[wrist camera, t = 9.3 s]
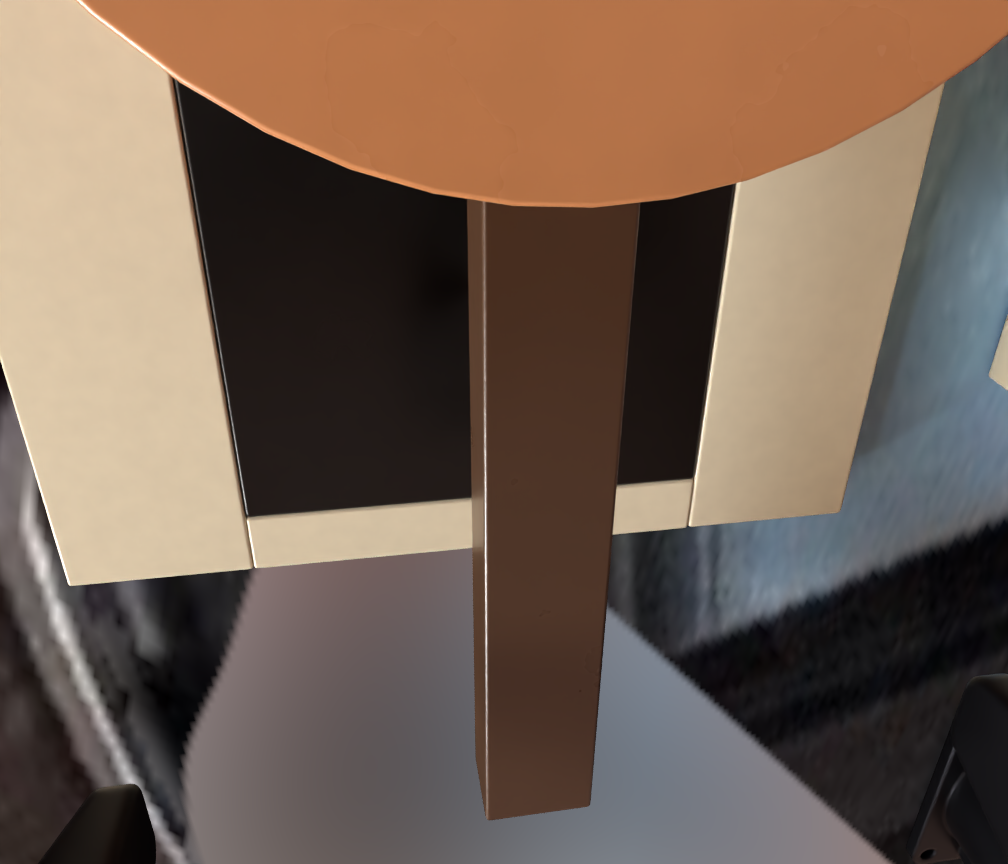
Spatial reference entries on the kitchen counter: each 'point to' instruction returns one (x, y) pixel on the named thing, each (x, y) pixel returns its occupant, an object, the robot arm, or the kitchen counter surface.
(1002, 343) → the control panel
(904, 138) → the stove top
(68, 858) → the robot arm
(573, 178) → the saucepan
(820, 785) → the kitchen counter surface
